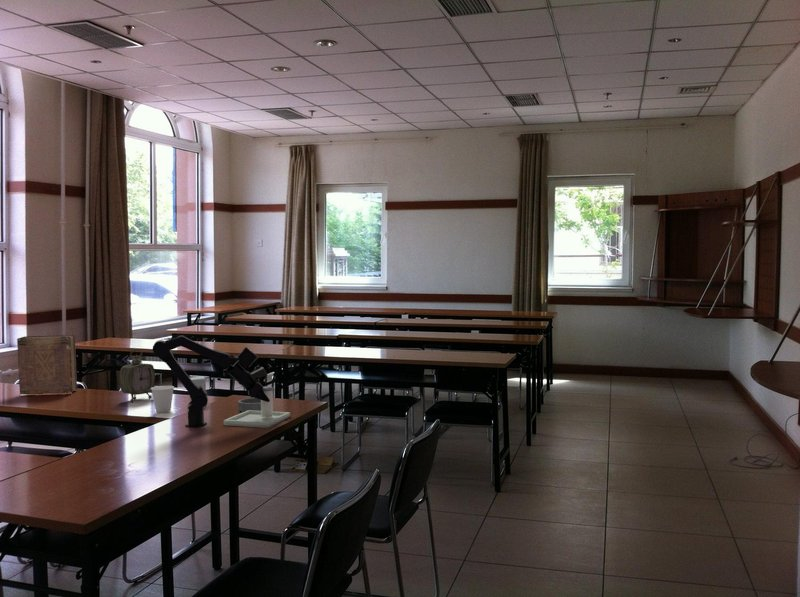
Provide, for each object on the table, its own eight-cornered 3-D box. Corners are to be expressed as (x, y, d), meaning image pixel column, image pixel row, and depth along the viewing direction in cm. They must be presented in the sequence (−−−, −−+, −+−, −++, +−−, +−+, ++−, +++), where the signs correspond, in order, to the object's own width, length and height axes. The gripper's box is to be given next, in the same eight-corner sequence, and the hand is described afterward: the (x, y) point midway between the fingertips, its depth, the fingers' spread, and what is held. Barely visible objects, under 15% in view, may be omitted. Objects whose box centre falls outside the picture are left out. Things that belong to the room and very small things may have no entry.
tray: (267, 427, 280) (267, 422, 279) (223, 425, 285) (223, 420, 285) (290, 417, 299) (290, 412, 299) (248, 414, 305) (248, 410, 304)
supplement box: (205, 402, 334) (204, 376, 333) (206, 405, 327) (205, 378, 326) (189, 403, 331) (188, 377, 331) (190, 406, 324) (189, 379, 324)
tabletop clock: (131, 403, 334) (129, 351, 333) (118, 401, 339) (116, 350, 337) (155, 398, 347) (153, 348, 345) (143, 396, 351) (141, 347, 350)
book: (77, 391, 370) (75, 334, 369) (72, 394, 361) (70, 336, 360) (25, 393, 366) (23, 336, 364) (19, 396, 357) (17, 338, 355)
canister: (261, 417, 291) (260, 388, 290) (260, 415, 296) (259, 386, 295) (274, 416, 292) (273, 388, 291) (272, 414, 297) (272, 386, 296)
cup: (167, 414, 308) (166, 389, 307) (147, 413, 310) (146, 389, 309) (179, 409, 318) (178, 385, 317) (159, 409, 320) (158, 385, 319)
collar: (261, 413, 307) (260, 404, 307) (232, 411, 311) (232, 402, 311) (275, 406, 321) (275, 398, 320) (248, 405, 325) (248, 397, 324)
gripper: (256, 364, 282) (284, 389, 286) (253, 358, 300) (279, 382, 304) (237, 384, 281) (265, 410, 284) (234, 377, 299) (261, 401, 302)
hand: (268, 400), depth 294 cm, fingers closed on canister, 5 cm apart
